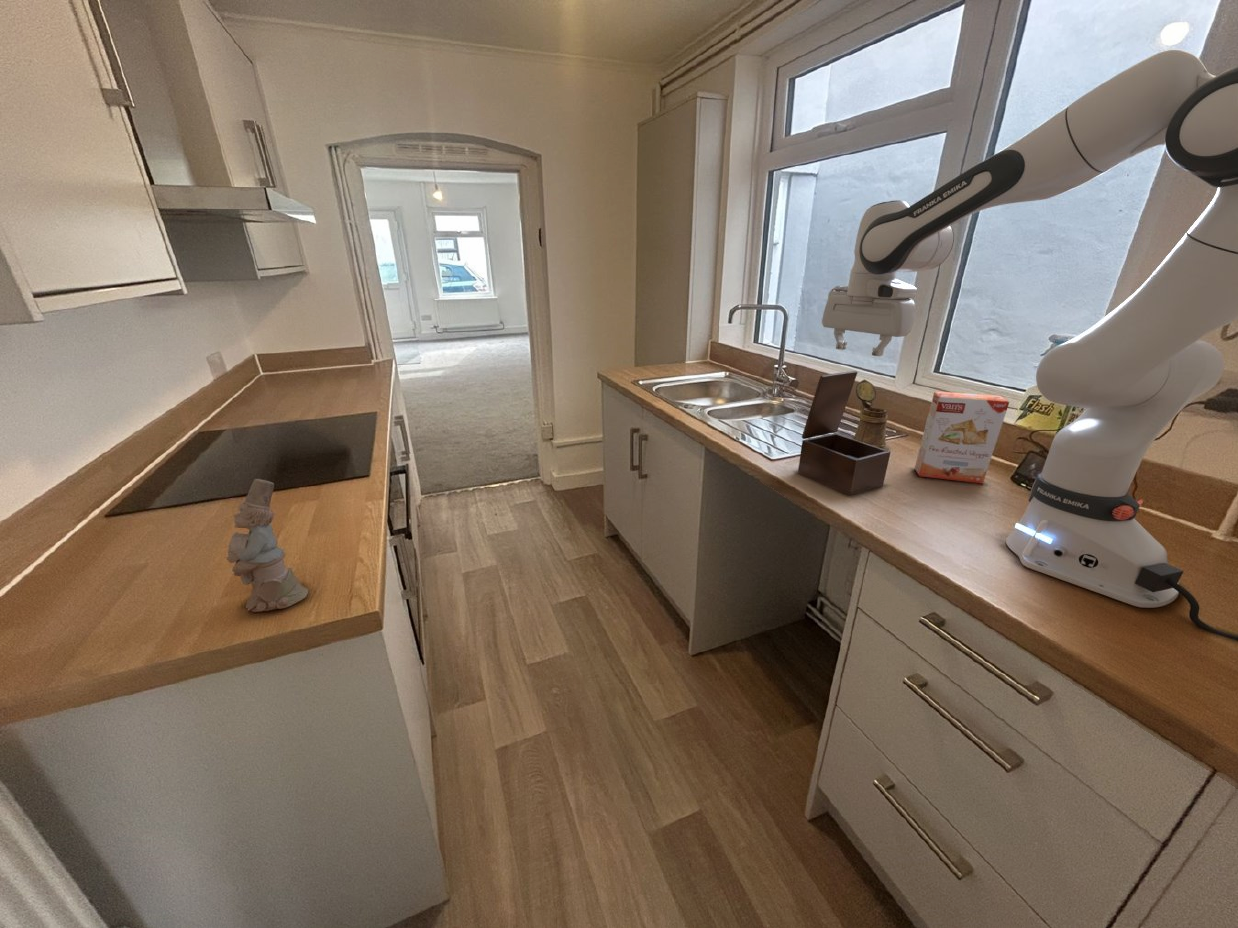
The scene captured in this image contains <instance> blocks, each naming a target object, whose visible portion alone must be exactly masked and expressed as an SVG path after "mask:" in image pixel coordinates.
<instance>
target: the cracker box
mask: <svg viewBox="0 0 1238 928" xmlns="http://www.w3.org/2000/svg"><path fill="white" fill-rule="evenodd" d="M1009 405H1010V401H1009V400H1008V399H1006V398H1004V397H1003V396H1002V395H997V394H996V395H995V394H981V393H980V394H979V393H965V392H953V391H934V392H933V395H932V398H931V403H930V407H929V411H928V415H927V418H926V422H925V426H924V430H923V434H922V437H921V442H920V446H919V449H918V453H917V458H916V461H915V464H914V470H915V471H916V473H917V475H918V477H923V478H931V479H940V480H950V481H958V482H966V483H967V482H968V483H974V484H975V483H976V484H984V482H985V478H986V475H987V474H988V469H989V466H990V463H991V461H992V457H993V454H994V450H995V448H996V444H997V442H998V438H999V435H1000V432H1001V429H1002V427H1003V424H1004V420H1005V417H1006V413H1007V411H1008V408H1009Z"/></svg>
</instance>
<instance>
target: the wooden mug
mask: <svg viewBox="0 0 1238 928" xmlns="http://www.w3.org/2000/svg"><path fill="white" fill-rule="evenodd" d="M855 393H856V396H857V399H859V400H860V402H861V407H860V411H859V417H858V418H859V421H858V422H859V423H858V425H857V427H856V430H855V433H854V436H853V437H852V439H855V440H858V441H861V442H864V443H867V444H870V445H873V446H876V447H879V448H882V449H884V450H887V442H886V440H887V439H886V436H887V423H888V417H889V416H888V410H887V409H885V408H880V407H879V408H878V407H873V401H874V400H875V399H876V397H877V389H876V387H875V385H874V384H872V382H870V381H868V380H866V379H862V380H861V381H859V383H858V384H857V385H856V387H855Z"/></svg>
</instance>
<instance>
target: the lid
mask: <svg viewBox="0 0 1238 928" xmlns="http://www.w3.org/2000/svg"><path fill="white" fill-rule="evenodd" d="M858 373H859V372H858V371H857V370H850V371H845V372H844V371H841V372H835V373H829V374H828V373H827V374H821V375H820V376H819V379H818V382H817V386H816V388H815V389H816V390H815V392H814V396H813V399H812V402H811V405H810V407H809V408H810V409H809V412H808V416H807V418H806V421H805V426H804V427H803V428H804V429H803V432H802V435H801V439H803V440H807V439H811V438H816V437H820V436H825V435H829V434H834V433H837V432H838V430H839V428H840V425H841V421H842V419H843V416H844V413H845V411H846V407H847V404H848V402H849V398H850V395H851V392H852V390H853V387H854V384H855V381H856V378H857V376H858Z"/></svg>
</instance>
